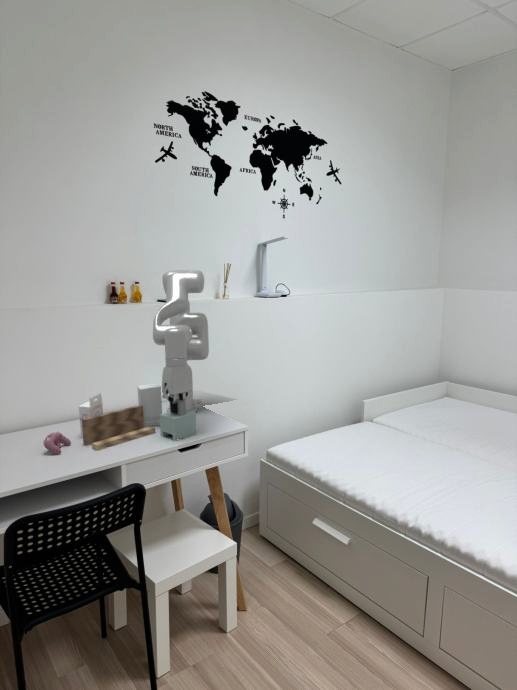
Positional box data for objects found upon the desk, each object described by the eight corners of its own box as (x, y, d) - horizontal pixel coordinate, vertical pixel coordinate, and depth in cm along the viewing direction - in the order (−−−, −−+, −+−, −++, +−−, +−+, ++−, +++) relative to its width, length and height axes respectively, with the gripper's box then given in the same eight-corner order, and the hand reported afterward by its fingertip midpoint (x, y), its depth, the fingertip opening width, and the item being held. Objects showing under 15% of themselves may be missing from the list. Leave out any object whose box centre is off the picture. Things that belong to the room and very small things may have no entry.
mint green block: (182, 429, 189) (181, 395, 187) (196, 433, 183) (195, 399, 181) (160, 435, 181) (159, 401, 179) (174, 440, 176) (173, 405, 174)
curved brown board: (141, 427, 191) (140, 404, 189) (155, 432, 185) (154, 409, 184) (83, 444, 173) (81, 419, 172) (96, 450, 167) (95, 424, 166)
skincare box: (159, 420, 200) (158, 382, 197) (163, 425, 194) (162, 386, 191) (138, 423, 196) (136, 384, 194) (141, 428, 190) (139, 388, 188)
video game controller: (61, 449, 173) (51, 431, 172) (72, 443, 173) (62, 426, 172) (49, 459, 164) (38, 441, 163) (61, 453, 163) (50, 435, 162)
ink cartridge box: (92, 429, 189) (90, 392, 186) (104, 430, 188) (102, 392, 185) (80, 437, 180) (77, 397, 178) (92, 438, 179) (90, 398, 177)
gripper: (186, 357, 187) (188, 405, 189) (151, 364, 175) (153, 415, 178) (200, 360, 182) (201, 409, 185) (164, 367, 170) (166, 419, 173)
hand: (177, 411), depth 181 cm, fingers closed on mint green block, 2 cm apart
